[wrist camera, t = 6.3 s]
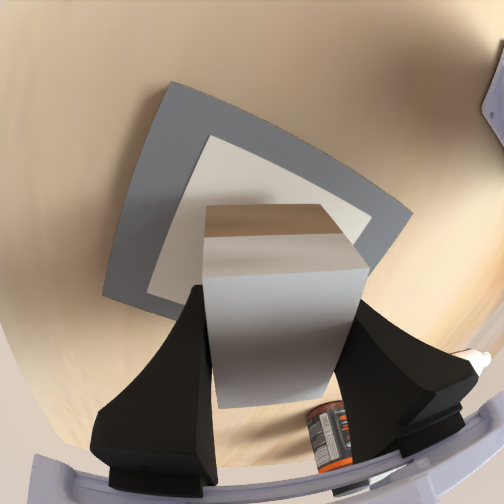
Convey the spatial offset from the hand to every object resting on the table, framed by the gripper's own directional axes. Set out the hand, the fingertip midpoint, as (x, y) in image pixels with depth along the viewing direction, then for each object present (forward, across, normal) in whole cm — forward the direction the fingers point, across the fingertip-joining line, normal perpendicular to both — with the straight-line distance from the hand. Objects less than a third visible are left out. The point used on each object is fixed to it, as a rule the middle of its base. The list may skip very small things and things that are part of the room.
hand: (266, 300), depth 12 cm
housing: (+1, 0, 0) cm, 1 cm away
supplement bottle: (+5, -10, +24) cm, 26 cm away
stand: (+5, 0, 0) cm, 5 cm away
